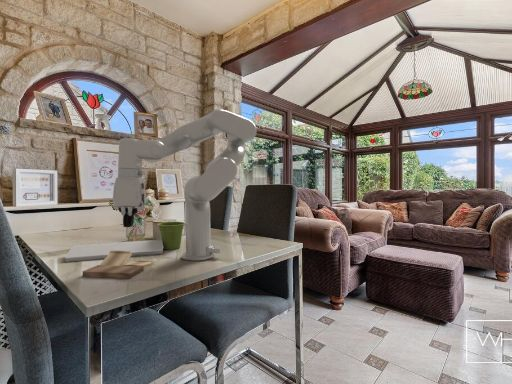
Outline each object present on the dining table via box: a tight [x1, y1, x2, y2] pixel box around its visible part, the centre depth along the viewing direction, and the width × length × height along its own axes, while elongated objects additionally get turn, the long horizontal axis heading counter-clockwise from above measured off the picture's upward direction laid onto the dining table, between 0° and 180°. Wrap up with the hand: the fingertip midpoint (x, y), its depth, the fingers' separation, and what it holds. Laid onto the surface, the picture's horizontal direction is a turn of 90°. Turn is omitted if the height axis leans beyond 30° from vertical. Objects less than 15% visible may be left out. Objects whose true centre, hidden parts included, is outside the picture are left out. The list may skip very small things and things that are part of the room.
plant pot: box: [157, 221, 186, 251], centre depth 122 cm, size 12×12×11 cm
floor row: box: [82, 264, 145, 279], centre depth 87 cm, size 16×8×2 cm, turn 83°
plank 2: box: [123, 260, 155, 271], centre depth 94 cm, size 8×7×2 cm
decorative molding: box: [64, 239, 164, 263], centre depth 111 cm, size 34×5×10 cm
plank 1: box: [99, 251, 132, 266], centre depth 94 cm, size 8×7×2 cm
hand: (128, 226), depth 95 cm, fingers closed
